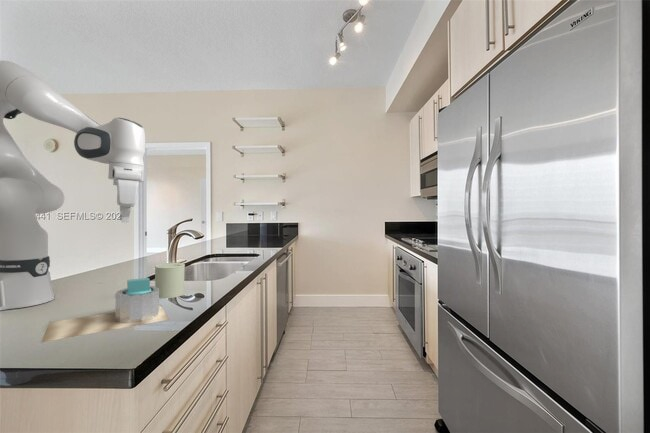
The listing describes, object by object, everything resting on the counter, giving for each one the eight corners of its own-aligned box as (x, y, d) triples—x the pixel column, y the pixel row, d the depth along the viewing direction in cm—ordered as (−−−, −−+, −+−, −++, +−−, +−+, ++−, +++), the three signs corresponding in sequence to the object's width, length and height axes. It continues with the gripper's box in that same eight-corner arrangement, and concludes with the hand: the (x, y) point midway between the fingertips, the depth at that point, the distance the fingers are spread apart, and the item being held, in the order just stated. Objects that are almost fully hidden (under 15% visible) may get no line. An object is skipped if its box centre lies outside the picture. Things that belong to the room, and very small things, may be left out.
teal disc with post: (125, 300, 79) (125, 283, 79) (124, 295, 84) (124, 278, 83) (152, 297, 82) (152, 280, 82) (149, 292, 87) (150, 276, 87)
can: (182, 301, 101) (182, 265, 101) (151, 303, 99) (151, 266, 98) (186, 294, 110) (186, 261, 110) (158, 295, 107) (158, 261, 107)
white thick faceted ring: (106, 322, 78) (106, 295, 78) (133, 309, 88) (133, 285, 88) (143, 323, 78) (143, 296, 78) (166, 311, 88) (166, 286, 87)
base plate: (41, 348, 66) (41, 342, 66) (50, 327, 78) (50, 322, 78) (168, 325, 81) (169, 319, 81) (160, 310, 92) (160, 305, 92)
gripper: (113, 175, 97) (110, 218, 98) (114, 171, 81) (111, 223, 81) (136, 177, 101) (134, 219, 101) (142, 174, 84) (139, 224, 85)
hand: (124, 221), depth 91 cm, fingers open, 8 cm apart
